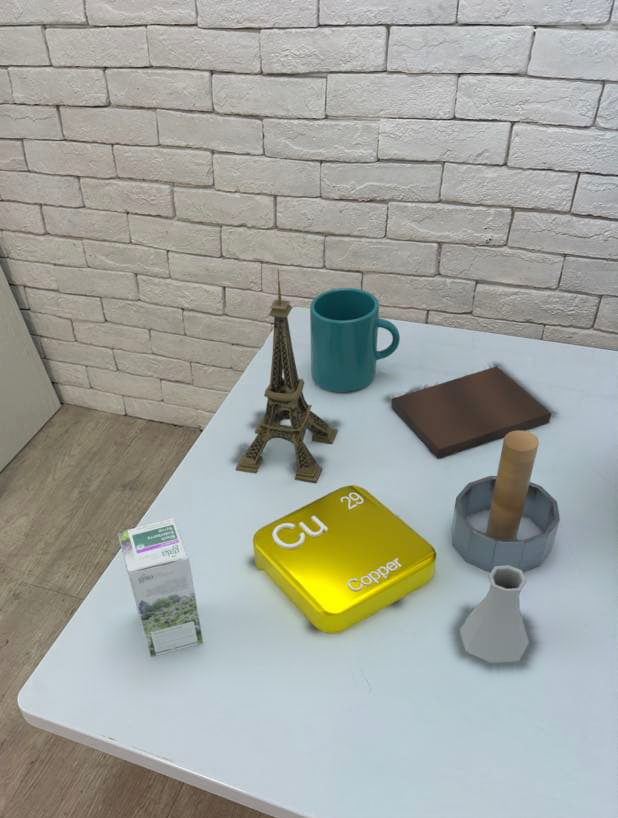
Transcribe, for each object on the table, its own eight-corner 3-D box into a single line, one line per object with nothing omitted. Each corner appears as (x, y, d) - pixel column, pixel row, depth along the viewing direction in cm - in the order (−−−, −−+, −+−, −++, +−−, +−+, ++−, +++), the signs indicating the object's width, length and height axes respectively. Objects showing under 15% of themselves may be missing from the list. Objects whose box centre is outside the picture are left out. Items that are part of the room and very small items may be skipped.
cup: (397, 395, 109) (402, 321, 102) (309, 394, 112) (307, 322, 104) (397, 358, 116) (402, 286, 108) (313, 358, 118) (312, 288, 110)
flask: (528, 681, 76) (549, 615, 69) (450, 667, 78) (461, 600, 71) (532, 623, 80) (551, 555, 73) (458, 610, 83) (469, 543, 75)
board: (495, 375, 110) (496, 365, 109) (549, 422, 102) (551, 412, 101) (390, 407, 108) (391, 398, 107) (438, 458, 99) (439, 449, 98)
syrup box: (192, 610, 86) (173, 513, 76) (206, 652, 82) (188, 555, 72) (141, 624, 86) (115, 528, 75) (152, 667, 82) (126, 571, 71)
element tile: (327, 648, 81) (327, 618, 78) (248, 561, 91) (244, 531, 87) (441, 583, 85) (446, 552, 82) (354, 506, 95) (355, 475, 92)
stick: (502, 533, 89) (525, 426, 79) (519, 552, 87) (545, 444, 77) (477, 542, 89) (497, 436, 78) (494, 561, 87) (516, 454, 76)
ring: (511, 505, 92) (520, 465, 88) (567, 563, 85) (580, 523, 81) (433, 532, 91) (437, 493, 86) (483, 594, 84) (492, 555, 79)
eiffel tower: (235, 470, 102) (215, 289, 84) (261, 420, 109) (247, 243, 91) (316, 483, 99) (312, 297, 81) (337, 431, 105) (338, 249, 88)
